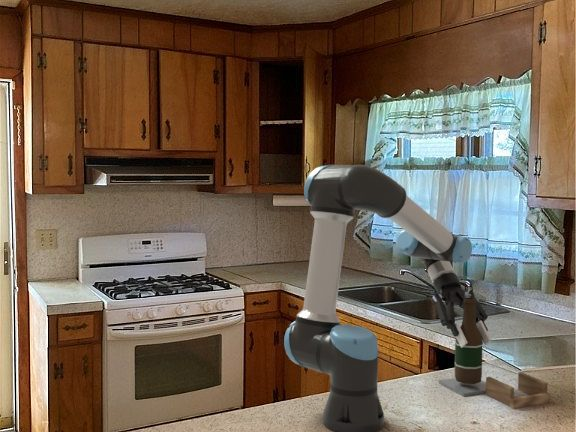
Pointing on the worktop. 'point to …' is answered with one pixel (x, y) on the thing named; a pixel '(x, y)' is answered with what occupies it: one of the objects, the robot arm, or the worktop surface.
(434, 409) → the worktop surface
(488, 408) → the worktop surface
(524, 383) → the cradle
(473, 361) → the beer bottle
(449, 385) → the coaster
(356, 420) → the robot arm
